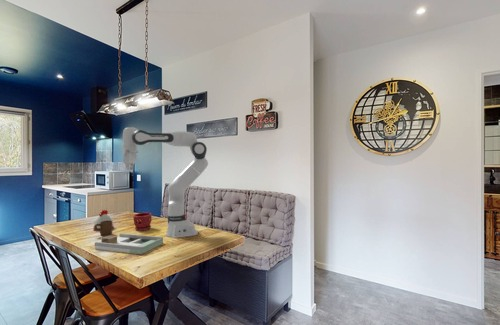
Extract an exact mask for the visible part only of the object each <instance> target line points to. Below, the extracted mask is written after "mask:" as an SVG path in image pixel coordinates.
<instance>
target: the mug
mask: <svg viewBox="0 0 500 325" xmlns="http://www.w3.org/2000/svg"><path fill="white" fill-rule="evenodd" d="M112 221H113V220H112ZM112 221H102V222H100V224H96V225H95V226H94V225H93V227H94V229H95V230H96V231H95V232H100V233H99V234H100V236H101V237H103V236H104V237H106V236H109V235H110V236H112V234H113V229H112ZM97 226H100V228H97Z"/></svg>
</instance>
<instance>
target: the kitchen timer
mask: <svg viewBox="0 0 500 325" xmlns="http://www.w3.org/2000/svg"><path fill="white" fill-rule="evenodd" d="M108 212H109V211H108V210H107V209H102V210H101V211H100V213H98V216H97V218H96V219H95V221H94V224H93V231H94V232H97V231H96V230H95V229H94V226H95V225H96V224H100V222H102V221H112V230H113V229H114V222H113V221H114V220H113V219H112V217H110V216H109V215H108V214H109V213H108ZM97 228H100V226H97Z"/></svg>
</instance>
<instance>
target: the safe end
mask: <svg viewBox="0 0 500 325" xmlns="http://www.w3.org/2000/svg"><path fill="white" fill-rule="evenodd" d="M162 244H164V239H163V240H162V238H160V239H158V240H150V241H148V242H145V243H143V244H141V245H139V246H141V247H142V251H139V250H130V253H129V254H137V255H142V254H143V255H144V254H145V253H146V252H149V251H150V250H153V249H155V248H156V247H159V246H162Z"/></svg>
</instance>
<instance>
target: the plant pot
mask: <svg viewBox="0 0 500 325" xmlns="http://www.w3.org/2000/svg"><path fill="white" fill-rule="evenodd" d="M133 222H134V223H133V224H134V226H135V227H134V228H135V230H136V231H147V230H149V229H150V228H151V227H152V225H151V223H152V213H151V212H139V213H135V214H134V215H133Z"/></svg>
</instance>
